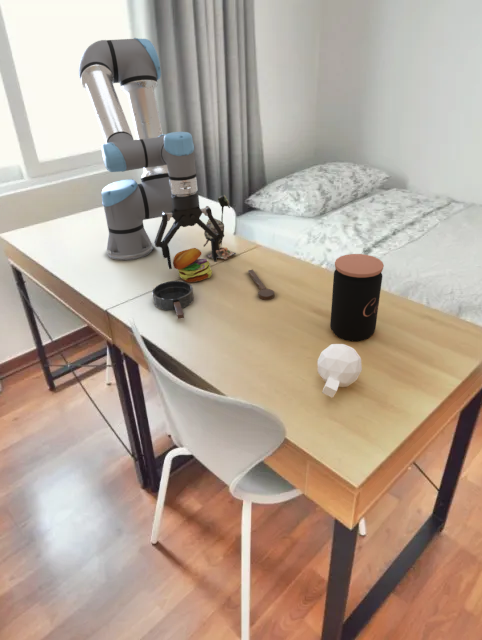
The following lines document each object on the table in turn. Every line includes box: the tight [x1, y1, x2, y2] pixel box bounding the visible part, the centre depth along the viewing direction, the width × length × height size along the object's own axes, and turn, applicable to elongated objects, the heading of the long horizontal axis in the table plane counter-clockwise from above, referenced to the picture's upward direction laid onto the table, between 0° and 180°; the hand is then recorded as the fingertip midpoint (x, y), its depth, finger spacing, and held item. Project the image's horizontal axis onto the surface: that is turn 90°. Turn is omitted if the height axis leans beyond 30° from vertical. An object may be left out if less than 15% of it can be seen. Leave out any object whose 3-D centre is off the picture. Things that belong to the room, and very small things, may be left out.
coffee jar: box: [329, 253, 385, 343], centre depth 107 cm, size 11×11×18 cm
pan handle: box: [173, 301, 185, 320], centre depth 120 cm, size 7×2×3 cm, turn 16°
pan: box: [151, 280, 195, 311], centre depth 128 cm, size 11×11×4 cm
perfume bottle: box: [316, 343, 363, 399], centre depth 93 cm, size 9×9×12 cm
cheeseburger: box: [172, 247, 213, 283], centre depth 139 cm, size 10×11×10 cm
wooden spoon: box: [248, 269, 275, 301], centre depth 134 cm, size 17×4×1 cm, turn 16°
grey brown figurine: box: [203, 194, 237, 260], centre depth 149 cm, size 8×11×20 cm
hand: (192, 263), depth 138 cm, fingers open, 13 cm apart
